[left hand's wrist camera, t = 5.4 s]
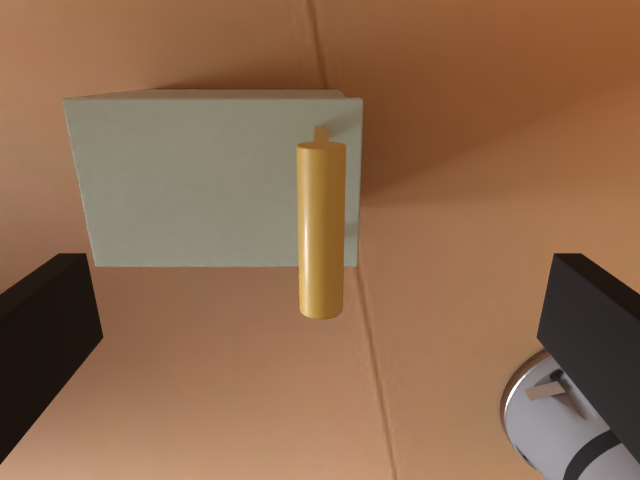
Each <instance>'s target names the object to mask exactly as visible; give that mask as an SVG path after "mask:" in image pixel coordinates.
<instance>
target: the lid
mask: <svg viewBox="0 0 640 480" xmlns="http://www.w3.org/2000/svg"><path fill="white" fill-rule="evenodd" d="M62 103H63V108H64V113H65V118H66V123H67V128H68V133H69V138H70V143H71V148H72V153H73V158H74V163H75V168H76V173H77V178H78V183H79V188H80V193H81V198H82V203H83V208H84V213H85V218H86V223H87V228H88V233H89V238H90V243H91V248H92V253H93V258H94V263H95V267H299V307H300V311H301V313H302V314H303V315H305V316H306V317H309V318H312V319H321V320H322V319H330V318H334V317H336V316H338V315H339V314H340V313H341V312H342V310H343V275H344V267H357V266H358V244H359V214H360V185H361V155H362V126H363V99H362V98H360V97H74V98H65V99H62Z"/></svg>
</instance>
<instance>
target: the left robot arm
mask: <svg viewBox="0 0 640 480" xmlns="http://www.w3.org/2000/svg"><path fill="white" fill-rule="evenodd" d="M102 338H103V333H102V328H101V324H100V319H99V314H98V309H97V304H96V299H95V294H94V289H93V285H92V280H91V275H90V270H89V265H88V260H87V255H86V253H59V254H57V255H56V256H54V257H53V258H52V259H50V260H49V261H47V262H46V263H45V264H43V265H42V266H40V267H39V268H37V269H36V270H35V271H33V272H32V273H30V274H29V275H27V276H26V277H25V278H23V279H22V280H20V281H19V282H17V283H16V284H15V285H13V286H12V287H10V288H9V289H8V290H6V291H5V292H3V293H2V294H0V464H1V463H2V462H3V461H4V460H5V458H6V457H7V456H8V455H9V453H10V452H11V451H12V450H13V448H14V447H15V446H16V445H17V443H18V442H19V441H20V440H21V439H22V437H23V436H24V435H25V434H26V432H27V431H28V430H29V429H30V427H31V426H32V425H33V424H34V422H35V421H36V420H37V419H38V418H39V416H40V415H41V414H42V413H43V411H44V410H45V409H46V408H47V406H48V405H49V404H50V403H51V401H52V400H53V399H54V398H55V397H56V395H57V394H58V393H59V392H60V390H61V389H62V388H63V387H64V385H65V384H66V383H67V382H68V380H69V379H70V378H71V377H72V376H73V374H74V373H75V372H76V371H77V369H78V368H79V367H80V366H81V364H82V363H83V362H84V361H85V359H86V358H87V357H88V356H89V355H90V353H91V352H92V351H93V350H94V348H95V347H96V346H97V345H98V343H99V342H100V341H101V340H102ZM537 338H538V340H539V341H540V342H541V343H542V345H543V346H544V347H545V349H544V350H542V351H540V352H538V353H537V354H535V355H534V356H532V357H531V358H530V359H529V360H527V361H526V362H525V363H524V364H523V365H522V366H521V367H520V368H519V369H518V370H517V371H516V372H515V374H514V375H513V376H512V378H511V379H510V381H509V382H508V384H507V386H506V388H505V390H504V393H503V395H502V399H501V404H500V418H501V423H502V426H503V428H504V431H505V433H506V435H507V437H508V439H509V441H510V442H511V444H512V446H513V447H514V449H515V450H516V451H517V452H518V454H519V455H520V456H521V457H522V458H523V459H524V460H525V461H526V462H527V463H528V464H529V465H530V466H532V467H533V468H534V469H536V470H538V471H539V472H540V473H541V474H542V476H543V477H544V478H545V479H546V480H640V294H638V293H637V292H635V291H634V290H632V289H631V288H630V287H628V286H627V285H625V284H624V283H623V282H621V281H620V280H618V279H617V278H615V277H614V276H613V275H611V274H610V273H608V272H607V271H605V270H604V269H603V268H601V267H600V266H598V265H597V264H595V263H594V262H593V261H591V260H590V259H588V258H587V257H586V256H584V255H583V254H581V253H554V255H553V260H552V265H551V270H550V275H549V280H548V285H547V289H546V294H545V299H544V304H543V309H542V314H541V319H540V324H539V328H538V333H537Z"/></svg>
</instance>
